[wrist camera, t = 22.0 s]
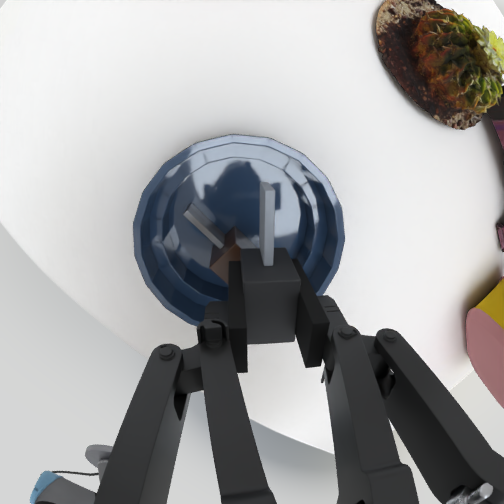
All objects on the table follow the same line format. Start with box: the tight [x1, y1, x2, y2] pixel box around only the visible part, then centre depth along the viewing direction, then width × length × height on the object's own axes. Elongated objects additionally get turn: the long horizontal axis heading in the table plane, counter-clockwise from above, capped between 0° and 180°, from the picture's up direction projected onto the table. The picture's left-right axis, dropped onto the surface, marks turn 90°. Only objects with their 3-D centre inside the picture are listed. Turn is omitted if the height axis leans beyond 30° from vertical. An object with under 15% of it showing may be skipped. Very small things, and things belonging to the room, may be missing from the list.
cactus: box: [376, 0, 504, 130], centre depth 14 cm, size 17×16×10 cm
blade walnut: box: [183, 203, 257, 284], centre depth 22 cm, size 8×3×4 cm, turn 43°
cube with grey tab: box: [240, 182, 301, 345], centre depth 15 cm, size 8×3×4 cm, turn 0°
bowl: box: [133, 134, 345, 326], centre depth 22 cm, size 15×15×6 cm
